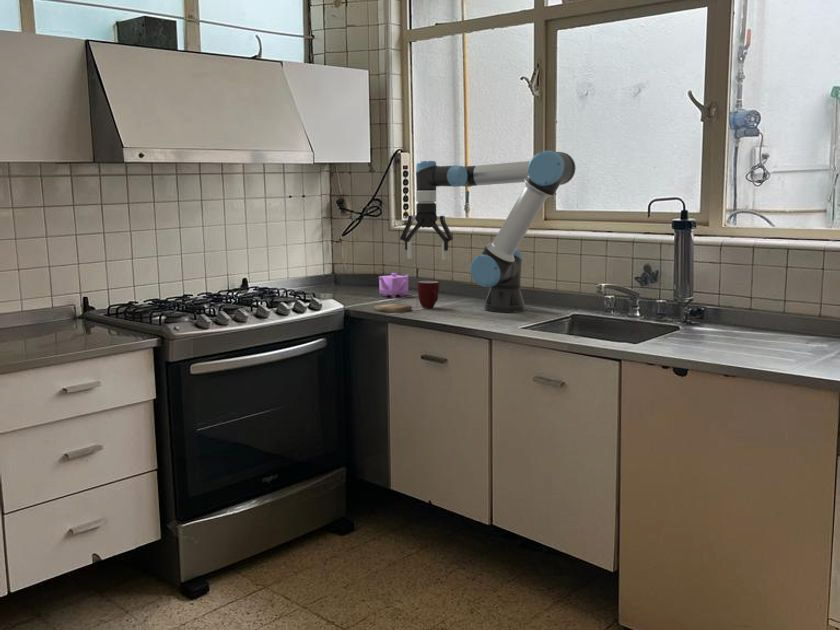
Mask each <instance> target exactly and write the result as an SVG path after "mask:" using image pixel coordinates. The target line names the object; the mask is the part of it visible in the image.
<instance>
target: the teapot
mask: <svg viewBox="0 0 840 630" xmlns="http://www.w3.org/2000/svg"><path fill="white" fill-rule="evenodd" d="M409 276H410V274H405V275H401V274H400V275H398V273H397V272H392V273H390V275H382V276H381V275H379V276H378V277H377V278H378V281H379V286H378V287H379V288H378V289H379V290H378V292H379V294H381V295H383V297H389V296H390V298H393V299H394V298H396V297H397V296H398V295H399V297H402V298H403V297H405V294H408V295H409Z"/></svg>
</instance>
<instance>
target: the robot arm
mask: <svg viewBox="0 0 840 630" xmlns="http://www.w3.org/2000/svg"><path fill="white" fill-rule="evenodd" d="M415 167H416V170H415V177H416V178H415V181H416V190H415V191H416V193H415V194H416V195H415V197H416V199H415V200H416V202H417V203H416V205H415V206H416V209H415V213H416V215H411V214H410V215H408V216H407V222H406V224H405V226H404V228H403V231H402V233H401V234H400V235H401V236H400V237H399V239H400V240H401V241H404V249H405V251H407V256H406V257H407V260H410V259H411V260H412V257H413V256H412V254H413V253H412V252H413V251H412V249H413V248H412V245H413V244H412V241H411V239H412V238H413V237H414V236H415V234H417V232H418V231H419V230H420V229H421V228H427V229H428V228H432V229H433V230H434V231H435V232H436V234H437V235H438V236H439V237H440V239H441V240H442V242H441V260H442V261H444V260H446V259H447V251H449V242H451V241H453V240H454V237H453V235H452V232H451V231H450V228H449V226H448V225H447V222H446V216H445V215H437V203H435V202H437V187H438V188H439V187H455V188H457V187H465V188H467V187H468V188H471V187H478V186H489V185H502V184H503V185H504V184H505V185H506V184H515V183H517V184H518V183H519V184H520V183H525V187H524V188H523V190H522V191H521V193H520V195H519V197H518V198H517V200H516V202H515V204H514V205H513V207H512V209H511V211H510V212H509V213H508V215H507V217H506V219H505V221H504V223H503V224H502V225H501V227H500V229H499V230H498V233H497V234H496V236H495V238H494V240H493V241H492V242H490V243H487V244H486V245H485V247H484V249H483V250H482V252H481V253H480V255H477V256H476V257H474V258H473V260H472V261H471V264H470V268H469V270H470V275H471V278H472V279H473V281H474V282H475V283H476V284H477V285H479V286H480V287H485V288H486V287H487V288H489V290H488V294H487V296H486V299H485V302H484V310H485V309H486V310H485V311H488V310H489V311H488V312H493V311H497V312H496V313H515V312H514V311H521V312H523V311H522V310H524V311H525V301H524V298H523V295H522V292H521V284H522V282H521V281H522V280H521V279H522V261H523V259H522V252H521V251H520V250H517V249H518V247H519V245H520V244H521V242H522V241H523V239H524V237H525V235H526V234H527V232H528V230H529V229H530V227H531V226H532V224H533V222H534V220H535V219H536V217H537V216H538V213H540V210H541V209H542V207H543V205H544V204H545V202H546V200H547V198H550V197H554V195H555V194H556V193H557V191H558V189H559V187H560V186H563V185H566V184H567V183H569V182H570V181H571V180H572V179H573V178H574V176H575V173H576V169H577V168H576V162H575V160H574V158H573V157H572V156H571V155H569V154H568V153H566V152H563V151H555V150H551V149H550V150H549V149H547V150H543V151H540V152H538V153H536V154H534V156H533V157H532V158H531V159H530V160H526V161H515V162H514V161H513V162H502V163H492V164H481V165H479V164H478V165H467V166H464V165H442V166H441V165H437V161H435V160H419V161H417V162H416V166H415ZM414 221H415V222H417V223H416V224H415V225H414V227H413V228H412V230H411V231H410V229H411V226H412V225H413V222H414ZM437 221H438V222H439V223H440V225H441V227H442V229H443V231H444V232H443V231H442V229H441V228H440V227H439V225H438V224H437V223H436V222H437ZM409 231H410V232H409Z"/></svg>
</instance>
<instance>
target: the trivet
mask: <svg viewBox="0 0 840 630" xmlns="http://www.w3.org/2000/svg"><path fill="white" fill-rule="evenodd" d="M373 309H374V311H375V312H381V313H388V314H389V313H390V314H391V313H397V314H398V313H406V312H410V311H412V306H411V305H409V304H403V303H386V304H385V303H382V304H376V305H374V308H373Z"/></svg>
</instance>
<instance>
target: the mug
mask: <svg viewBox="0 0 840 630" xmlns="http://www.w3.org/2000/svg"><path fill="white" fill-rule="evenodd" d="M439 286H440V285H439V281H436V280H420V281H417V295H418V301H419V303H420V306H421V308H422V309H429V310H430V309H434V307H435V304H436V303H437V302H438V300H439V299H438V298H439Z"/></svg>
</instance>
